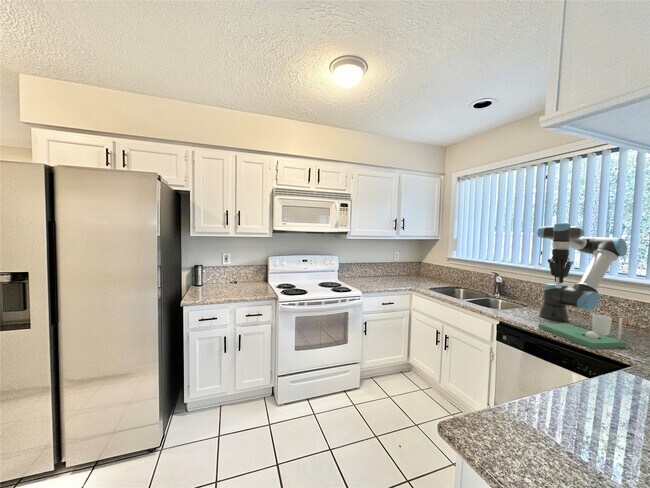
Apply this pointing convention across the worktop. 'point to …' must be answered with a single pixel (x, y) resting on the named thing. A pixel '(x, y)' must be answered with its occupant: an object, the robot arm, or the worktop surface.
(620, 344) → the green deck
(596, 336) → the ball
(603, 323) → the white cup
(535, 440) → the worktop surface
